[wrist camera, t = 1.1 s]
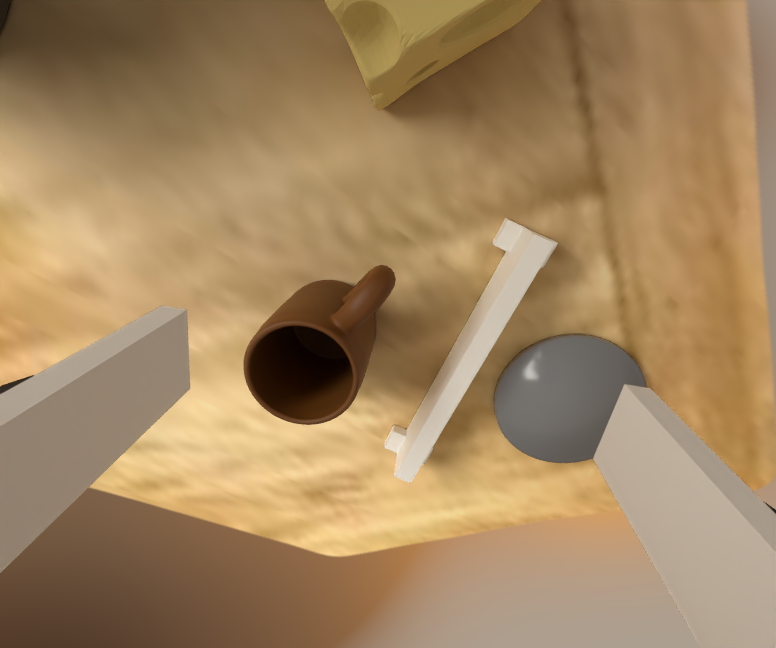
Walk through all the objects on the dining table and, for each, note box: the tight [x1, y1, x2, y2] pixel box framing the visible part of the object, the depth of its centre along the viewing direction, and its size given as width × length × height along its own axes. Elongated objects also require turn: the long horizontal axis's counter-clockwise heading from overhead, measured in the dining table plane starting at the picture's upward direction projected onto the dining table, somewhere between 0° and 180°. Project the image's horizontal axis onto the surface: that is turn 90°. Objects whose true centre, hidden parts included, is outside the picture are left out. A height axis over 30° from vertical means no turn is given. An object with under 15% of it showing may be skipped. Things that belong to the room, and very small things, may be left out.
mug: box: [244, 265, 396, 425], centre depth 29 cm, size 12×8×9 cm, turn 139°
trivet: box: [494, 334, 646, 463], centre depth 34 cm, size 12×12×1 cm
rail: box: [384, 218, 558, 483], centre depth 32 cm, size 4×22×4 cm, turn 156°
